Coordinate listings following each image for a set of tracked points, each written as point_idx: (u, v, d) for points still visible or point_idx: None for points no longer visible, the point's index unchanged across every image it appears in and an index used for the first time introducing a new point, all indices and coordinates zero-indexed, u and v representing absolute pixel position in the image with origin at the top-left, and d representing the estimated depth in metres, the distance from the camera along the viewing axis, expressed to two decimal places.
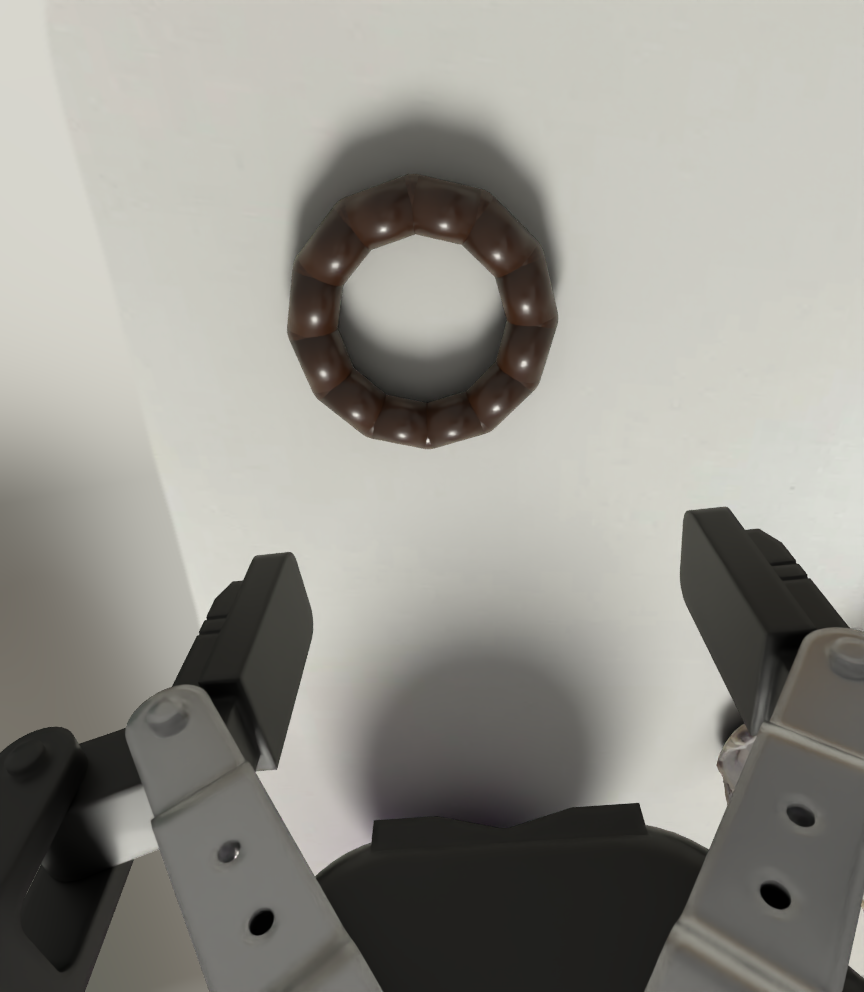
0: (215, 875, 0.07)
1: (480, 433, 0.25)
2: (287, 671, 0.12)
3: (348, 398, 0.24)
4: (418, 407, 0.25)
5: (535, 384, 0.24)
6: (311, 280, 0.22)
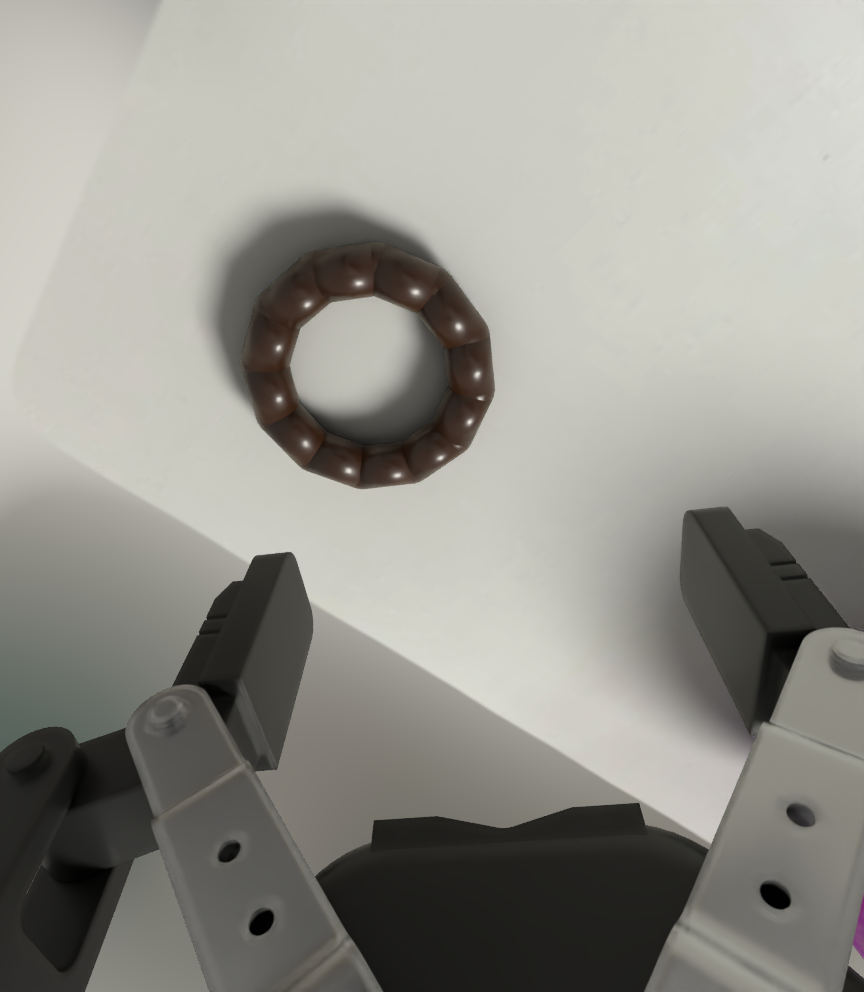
0: (215, 875, 0.07)
1: (486, 404, 0.25)
2: (287, 671, 0.12)
3: (376, 471, 0.26)
4: (427, 429, 0.25)
5: (482, 331, 0.23)
6: (274, 425, 0.25)
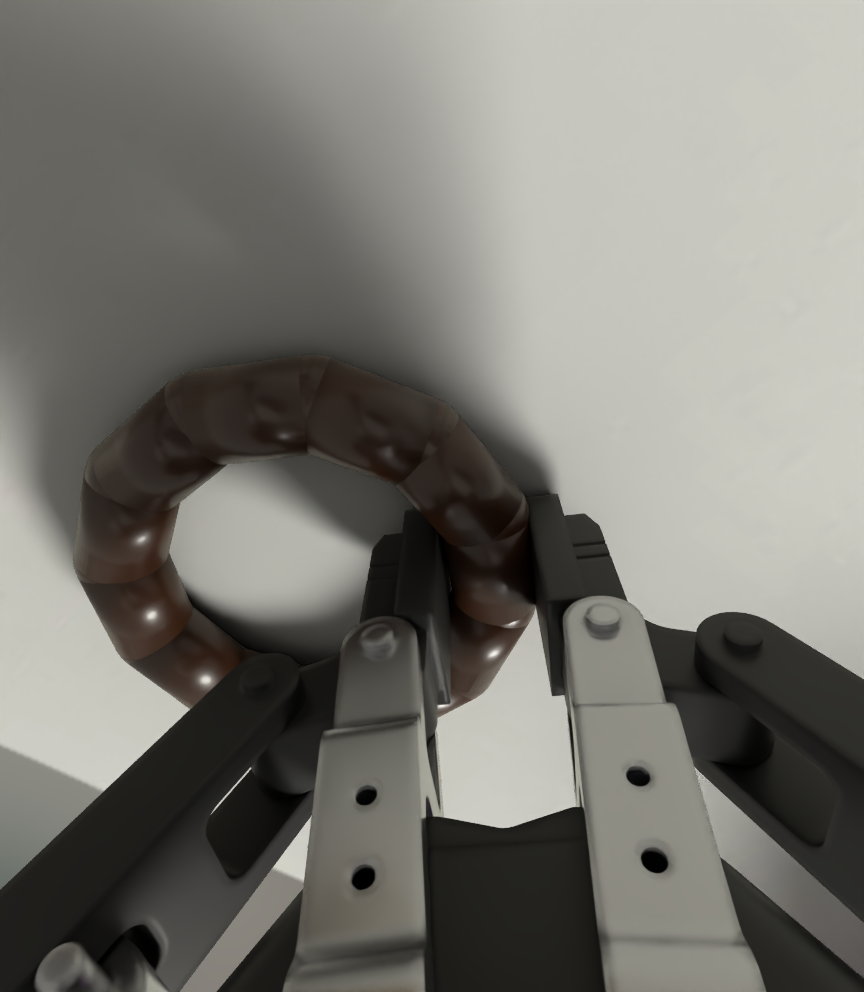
0: (347, 811, 0.07)
1: (521, 630, 0.14)
2: (446, 617, 0.13)
3: None
4: None
5: (517, 517, 0.12)
6: (142, 661, 0.14)
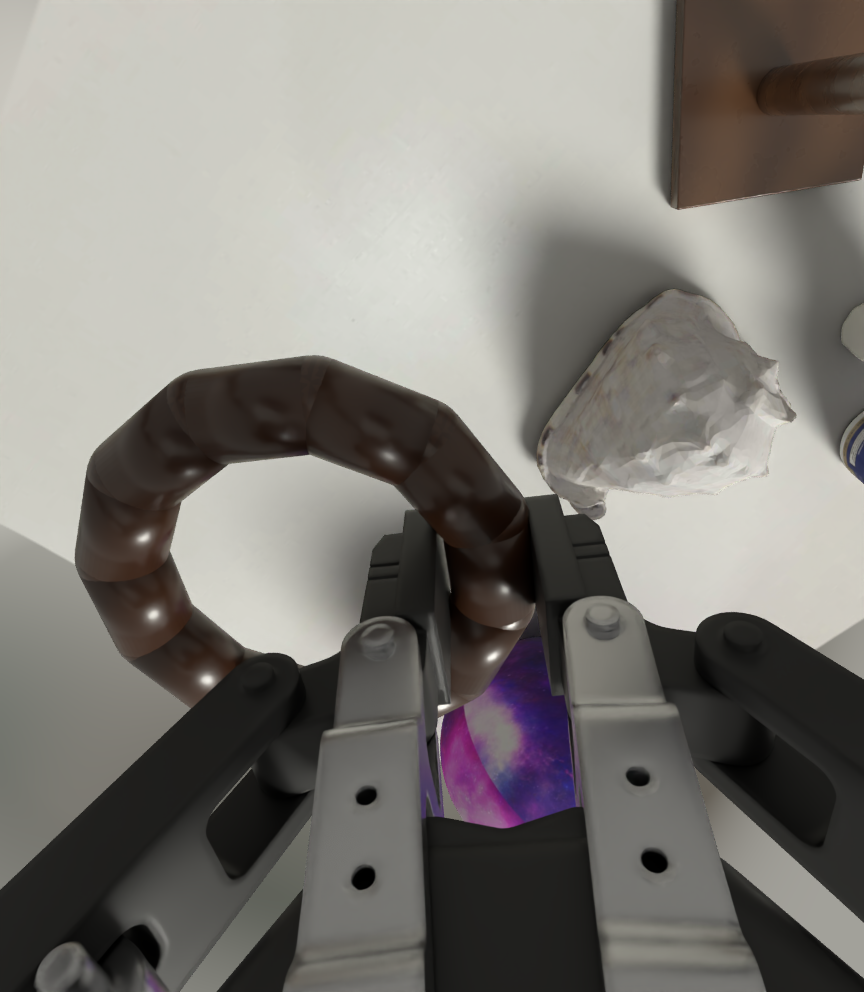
0: (347, 810, 0.07)
1: (520, 632, 0.14)
2: (446, 617, 0.13)
3: None
4: None
5: (517, 519, 0.12)
6: (142, 659, 0.14)
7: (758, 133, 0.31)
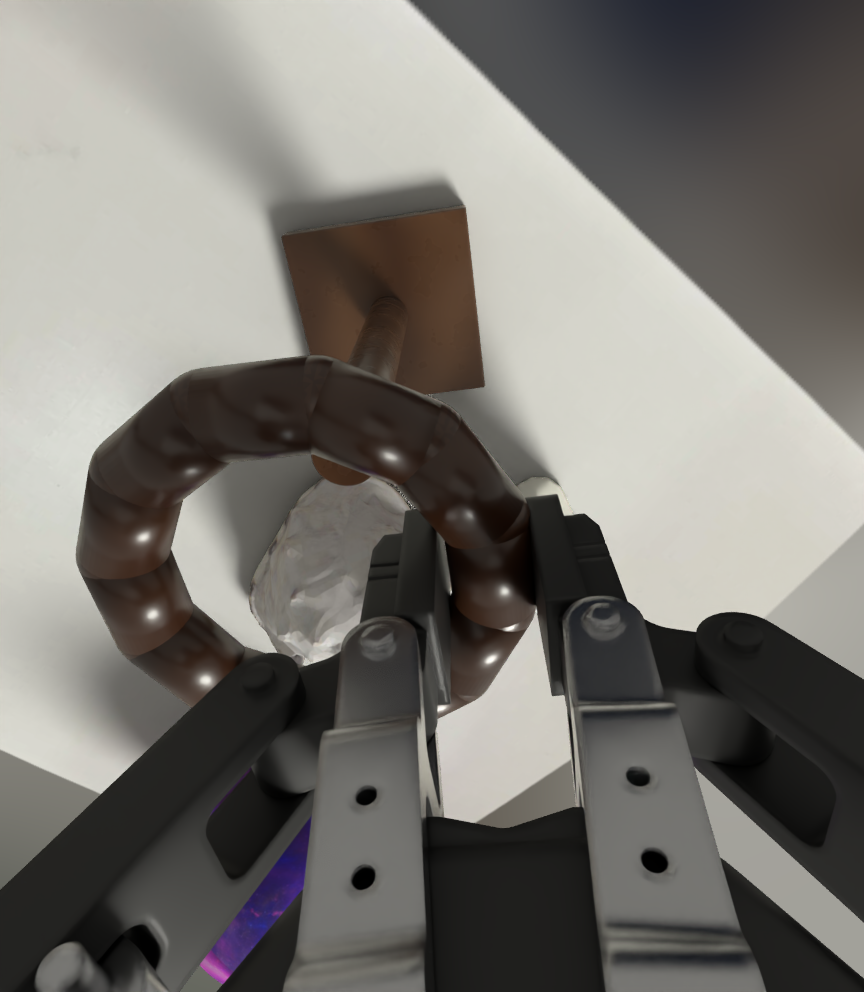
0: (347, 811, 0.07)
1: (520, 634, 0.14)
2: (446, 617, 0.13)
3: None
4: None
5: (518, 521, 0.12)
6: (142, 657, 0.14)
7: None
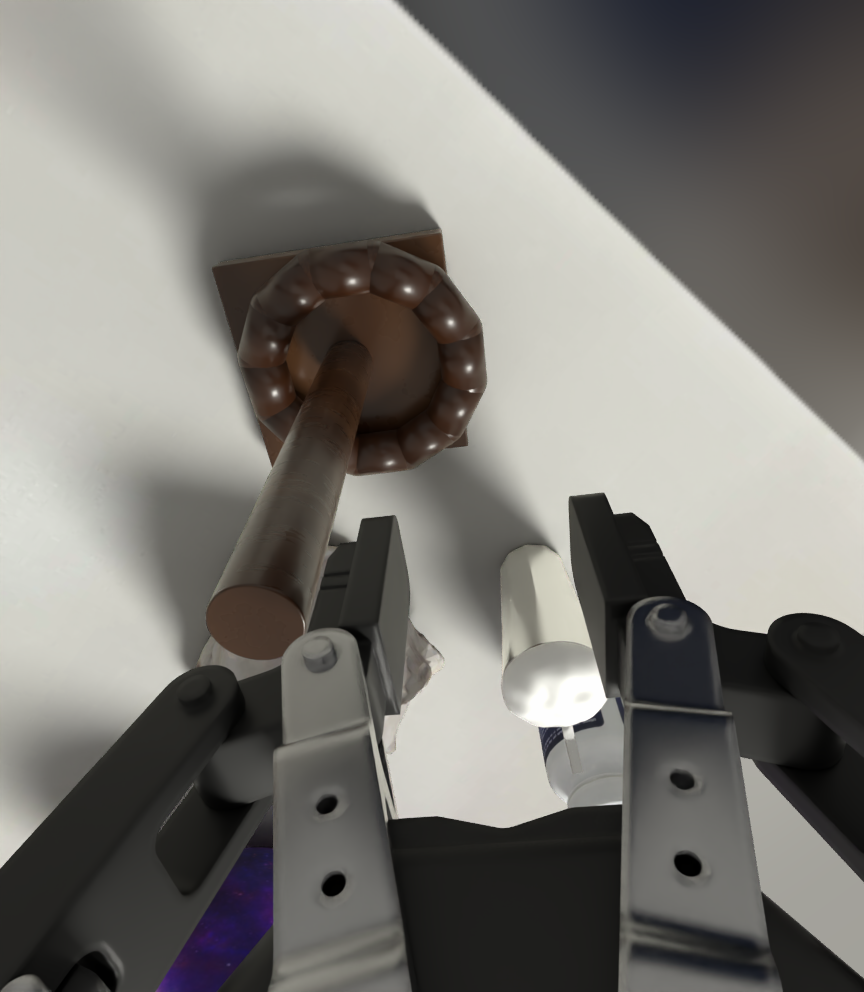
0: (309, 822, 0.07)
1: (478, 395, 0.25)
2: (400, 626, 0.13)
3: (372, 460, 0.27)
4: (422, 419, 0.26)
5: (475, 327, 0.24)
6: (272, 418, 0.26)
7: None
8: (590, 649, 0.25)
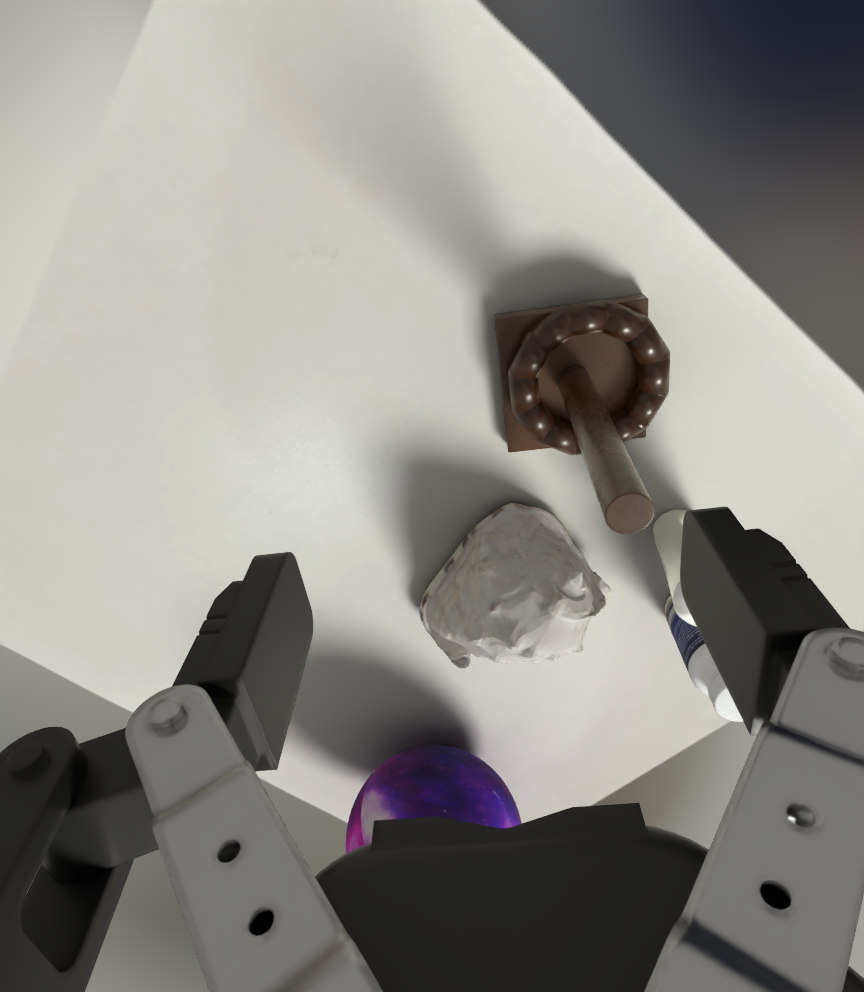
0: (215, 875, 0.07)
1: (663, 399, 0.39)
2: (287, 671, 0.12)
3: None
4: (622, 415, 0.40)
5: (667, 353, 0.37)
6: (526, 412, 0.39)
7: (562, 406, 0.41)
8: None
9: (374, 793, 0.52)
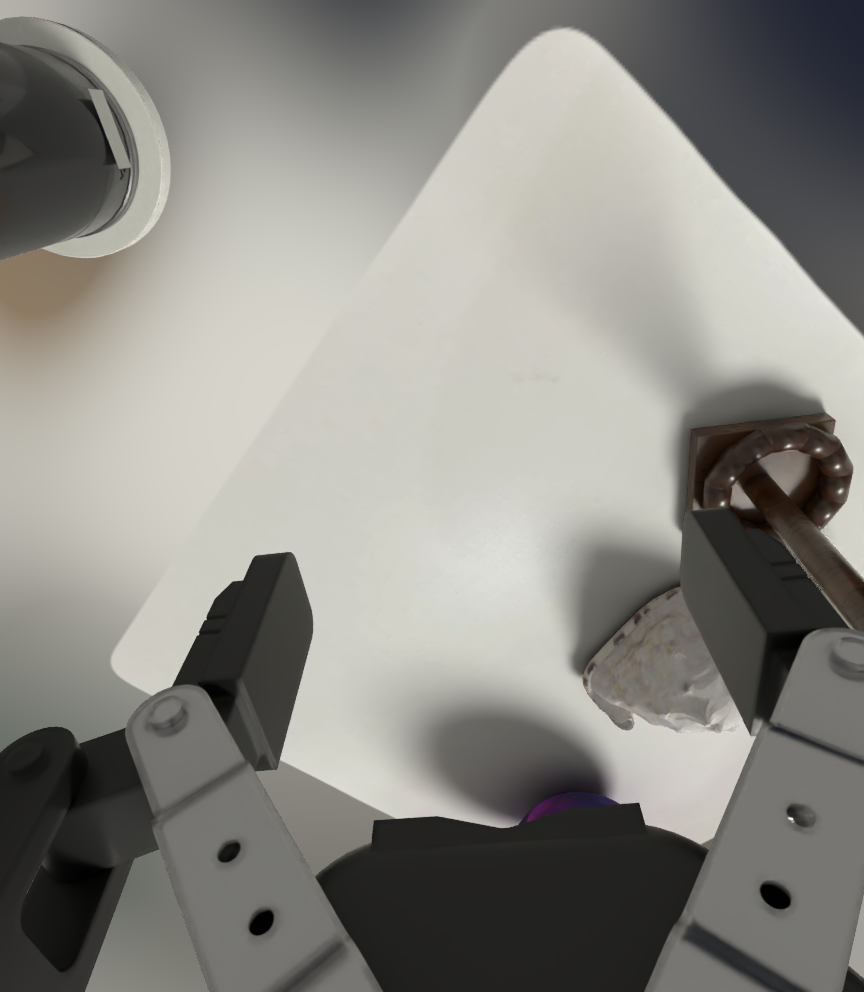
0: (215, 875, 0.07)
1: (843, 504, 0.44)
2: (287, 671, 0.12)
3: None
4: None
5: (852, 468, 0.42)
6: None
7: (744, 506, 0.46)
8: None
9: None
